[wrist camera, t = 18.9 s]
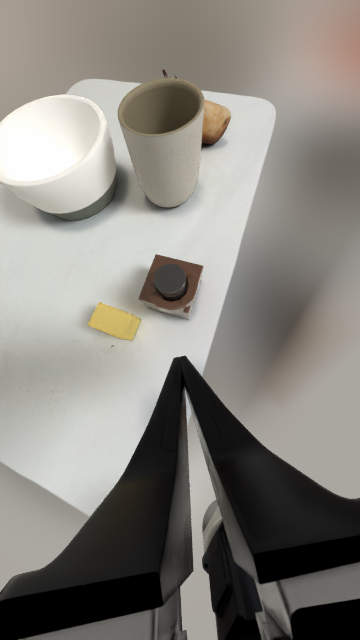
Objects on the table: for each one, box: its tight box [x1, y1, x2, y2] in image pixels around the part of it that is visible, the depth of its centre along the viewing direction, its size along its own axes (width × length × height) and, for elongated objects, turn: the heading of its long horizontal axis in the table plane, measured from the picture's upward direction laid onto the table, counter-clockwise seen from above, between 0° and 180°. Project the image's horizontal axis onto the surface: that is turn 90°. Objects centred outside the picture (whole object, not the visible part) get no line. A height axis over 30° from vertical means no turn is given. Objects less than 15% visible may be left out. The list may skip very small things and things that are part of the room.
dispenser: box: [138, 254, 203, 320], centre depth 21 cm, size 9×8×6 cm
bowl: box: [0, 95, 116, 220], centre depth 27 cm, size 22×22×8 cm
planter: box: [118, 78, 204, 207], centre depth 24 cm, size 12×12×11 cm
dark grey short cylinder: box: [154, 264, 186, 300], centre depth 17 cm, size 4×4×2 cm
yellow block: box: [88, 302, 141, 340], centre depth 22 cm, size 6×4×4 cm, turn 69°
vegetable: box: [162, 70, 231, 144], centre depth 28 cm, size 16×11×10 cm
